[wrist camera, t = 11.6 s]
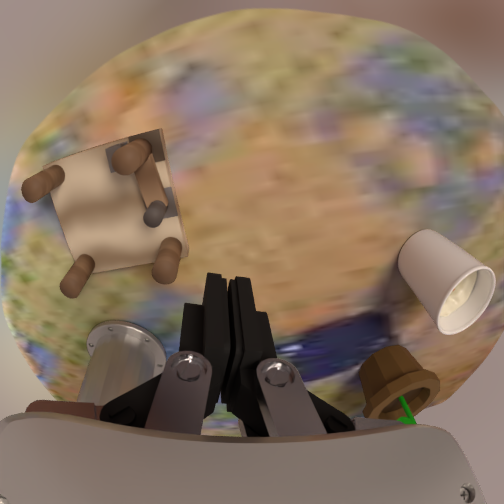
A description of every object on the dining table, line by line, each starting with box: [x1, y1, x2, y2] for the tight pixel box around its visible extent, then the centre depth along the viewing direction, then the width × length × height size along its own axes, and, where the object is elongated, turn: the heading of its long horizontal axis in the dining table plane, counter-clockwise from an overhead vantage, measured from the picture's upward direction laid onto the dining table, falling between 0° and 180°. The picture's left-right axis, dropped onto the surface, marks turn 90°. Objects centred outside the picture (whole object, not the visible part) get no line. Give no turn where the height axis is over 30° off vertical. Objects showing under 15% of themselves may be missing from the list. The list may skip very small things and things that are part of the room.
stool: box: [21, 129, 189, 298], centre depth 28 cm, size 14×14×8 cm
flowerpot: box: [359, 345, 440, 424], centre depth 37 cm, size 14×14×30 cm
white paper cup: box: [398, 229, 495, 335], centre depth 34 cm, size 10×10×12 cm
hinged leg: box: [111, 138, 168, 228], centre depth 26 cm, size 8×2×6 cm, turn 14°
